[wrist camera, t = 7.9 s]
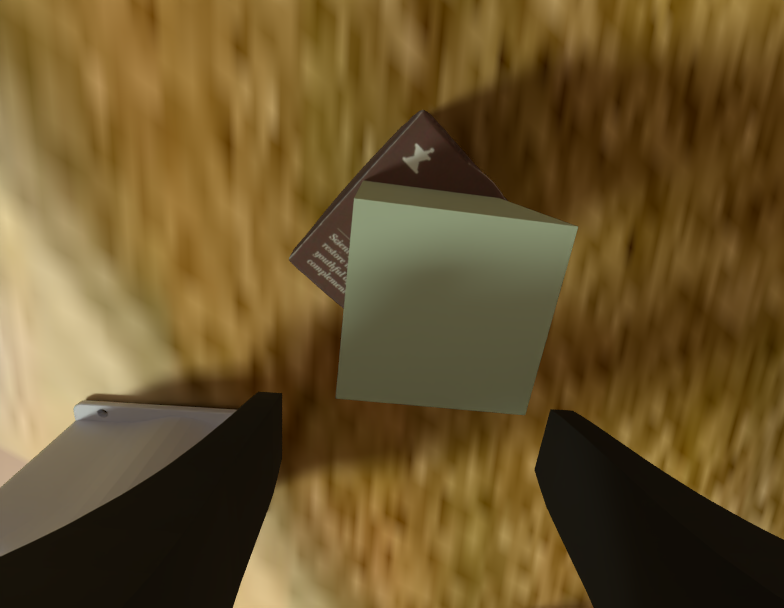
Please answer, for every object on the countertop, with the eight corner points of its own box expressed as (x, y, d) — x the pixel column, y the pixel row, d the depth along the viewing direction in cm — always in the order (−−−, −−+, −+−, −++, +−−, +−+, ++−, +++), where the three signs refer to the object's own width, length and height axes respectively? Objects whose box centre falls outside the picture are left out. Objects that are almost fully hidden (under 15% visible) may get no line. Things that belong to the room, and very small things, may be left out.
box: (315, 220, 19) (279, 257, 12) (405, 121, 18) (423, 100, 11) (405, 304, 21) (419, 379, 14) (495, 219, 19) (559, 255, 13)
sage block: (350, 310, 13) (335, 398, 8) (362, 180, 12) (353, 198, 7) (472, 323, 13) (524, 415, 9) (499, 197, 12) (578, 226, 7)
